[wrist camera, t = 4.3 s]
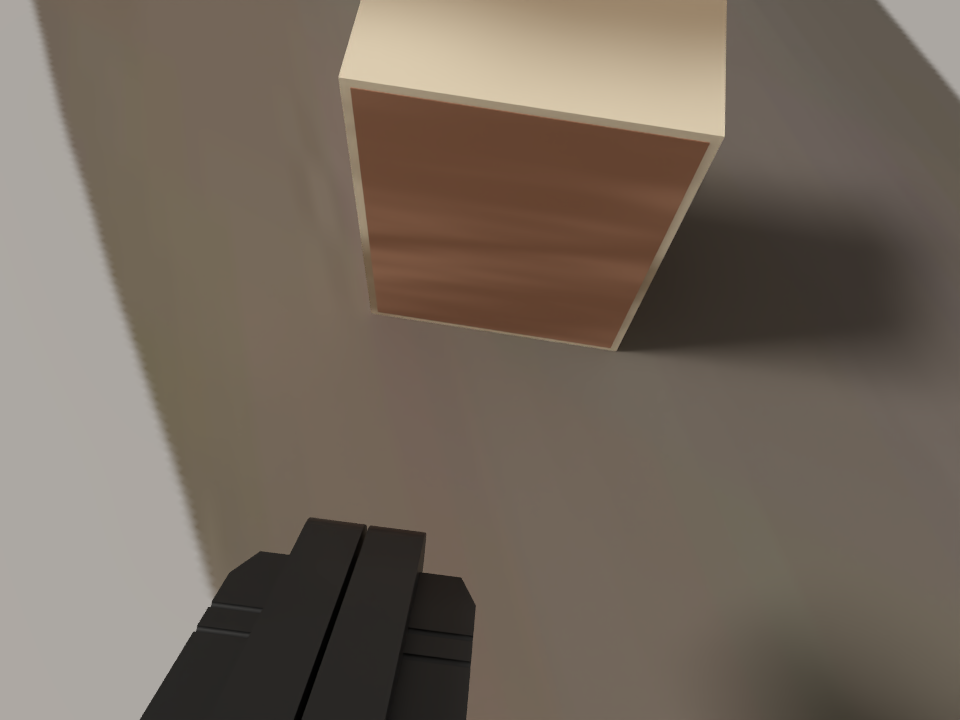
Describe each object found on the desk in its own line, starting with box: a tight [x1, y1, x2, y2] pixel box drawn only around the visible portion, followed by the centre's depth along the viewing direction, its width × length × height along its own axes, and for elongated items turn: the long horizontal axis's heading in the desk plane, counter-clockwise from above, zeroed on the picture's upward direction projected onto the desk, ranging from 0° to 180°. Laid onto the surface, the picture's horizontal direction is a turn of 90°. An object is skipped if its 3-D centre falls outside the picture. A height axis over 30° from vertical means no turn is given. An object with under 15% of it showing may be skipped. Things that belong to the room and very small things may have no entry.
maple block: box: [338, 0, 727, 351], centre depth 19 cm, size 5×7×9 cm
